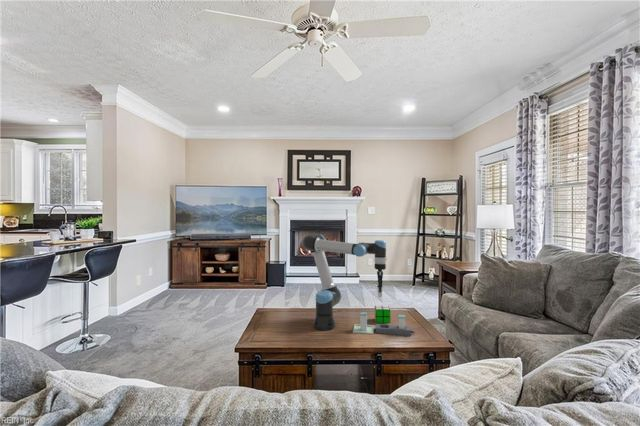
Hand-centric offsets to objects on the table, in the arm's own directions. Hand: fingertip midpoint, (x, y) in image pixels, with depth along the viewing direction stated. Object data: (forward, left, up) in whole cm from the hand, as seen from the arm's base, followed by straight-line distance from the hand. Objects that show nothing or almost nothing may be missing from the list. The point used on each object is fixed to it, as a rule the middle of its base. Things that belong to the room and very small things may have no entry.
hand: (379, 294), depth 205 cm
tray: (-11, -8, -22) cm, 26 cm away
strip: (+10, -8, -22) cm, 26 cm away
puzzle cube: (+1, +12, -23) cm, 26 cm away
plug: (-11, -8, -22) cm, 25 cm away
